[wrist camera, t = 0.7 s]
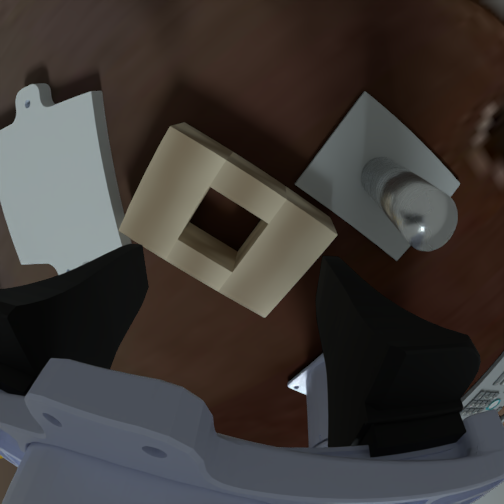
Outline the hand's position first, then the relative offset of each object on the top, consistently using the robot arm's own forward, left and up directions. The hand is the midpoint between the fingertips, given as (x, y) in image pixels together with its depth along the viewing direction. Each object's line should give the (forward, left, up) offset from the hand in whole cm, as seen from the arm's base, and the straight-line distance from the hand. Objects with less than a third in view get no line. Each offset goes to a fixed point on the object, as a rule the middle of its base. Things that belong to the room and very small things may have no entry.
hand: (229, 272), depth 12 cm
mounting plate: (+15, +8, -11) cm, 20 cm away
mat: (-7, -6, -10) cm, 14 cm away
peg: (-6, -6, -10) cm, 13 cm away
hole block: (+1, +2, -10) cm, 10 cm away
